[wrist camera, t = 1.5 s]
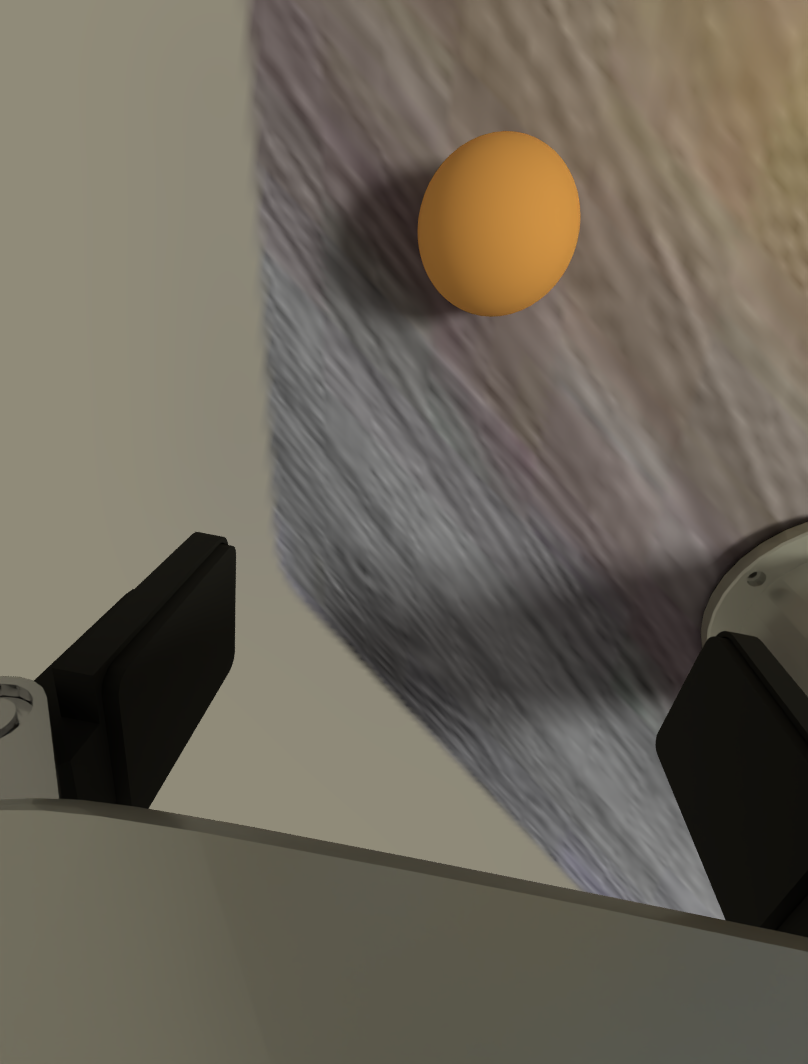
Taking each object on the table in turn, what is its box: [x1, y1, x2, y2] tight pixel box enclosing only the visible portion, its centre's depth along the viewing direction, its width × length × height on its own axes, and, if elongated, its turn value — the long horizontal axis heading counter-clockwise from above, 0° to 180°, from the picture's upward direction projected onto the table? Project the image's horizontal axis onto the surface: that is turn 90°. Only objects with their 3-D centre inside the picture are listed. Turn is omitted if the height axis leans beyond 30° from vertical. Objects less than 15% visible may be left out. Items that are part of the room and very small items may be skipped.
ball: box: [418, 131, 580, 316], centre depth 20 cm, size 6×6×6 cm
